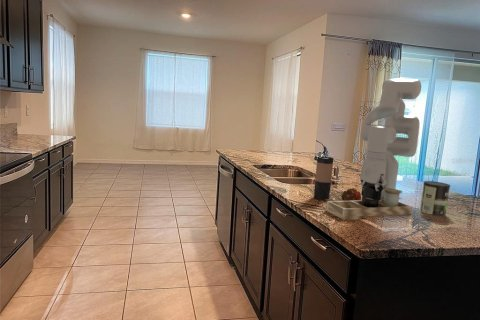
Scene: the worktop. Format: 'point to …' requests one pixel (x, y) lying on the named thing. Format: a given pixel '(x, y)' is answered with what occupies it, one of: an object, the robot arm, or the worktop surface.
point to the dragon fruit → (351, 195)
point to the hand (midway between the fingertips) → (370, 197)
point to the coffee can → (434, 198)
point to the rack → (364, 209)
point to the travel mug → (323, 178)
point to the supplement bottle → (369, 196)
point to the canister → (391, 197)
